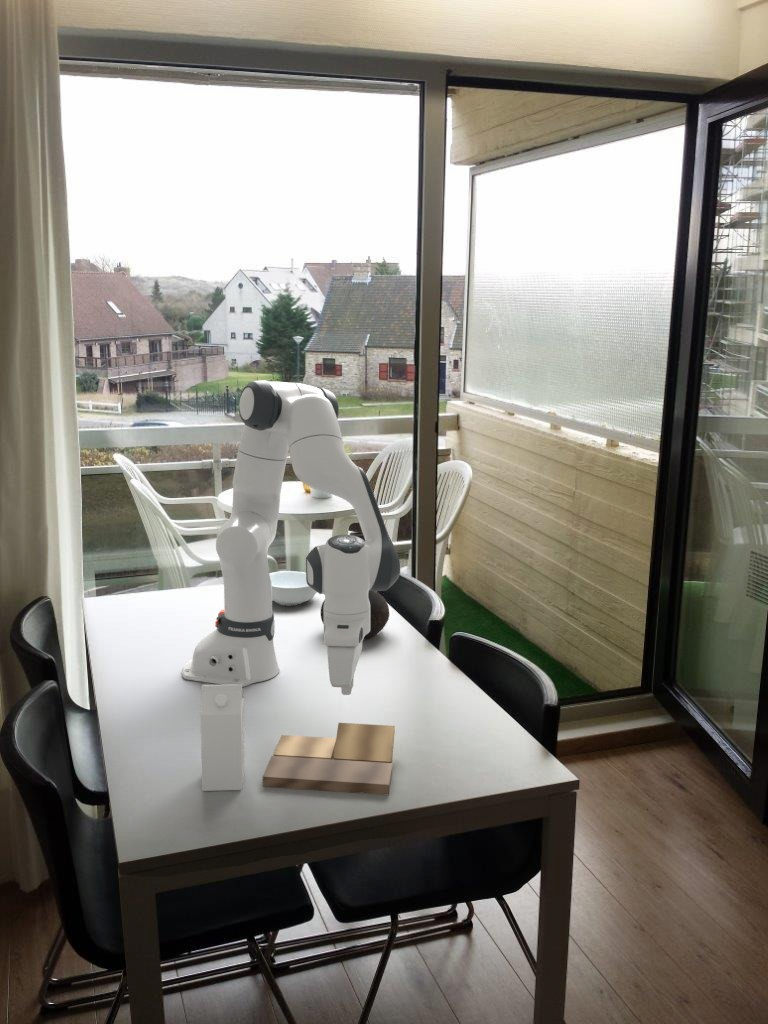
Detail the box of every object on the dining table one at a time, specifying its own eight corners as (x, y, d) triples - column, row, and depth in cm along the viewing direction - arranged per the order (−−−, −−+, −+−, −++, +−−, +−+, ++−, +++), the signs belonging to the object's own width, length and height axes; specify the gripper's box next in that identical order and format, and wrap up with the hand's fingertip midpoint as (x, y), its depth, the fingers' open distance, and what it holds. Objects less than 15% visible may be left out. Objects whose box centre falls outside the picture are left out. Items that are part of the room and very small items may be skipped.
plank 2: (334, 764, 178) (333, 758, 176) (339, 728, 184) (338, 722, 182) (391, 767, 177) (391, 761, 176) (394, 731, 183) (394, 725, 181)
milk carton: (206, 772, 174) (204, 677, 170) (244, 771, 175) (243, 676, 171) (202, 791, 167) (199, 693, 163) (242, 790, 168) (240, 692, 164)
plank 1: (273, 764, 178) (273, 754, 177) (281, 744, 185) (281, 734, 185) (330, 767, 177) (330, 758, 176) (336, 747, 185) (336, 738, 184)
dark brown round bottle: (306, 635, 245) (307, 532, 239) (352, 619, 259) (353, 521, 253) (357, 653, 234) (359, 545, 228) (402, 634, 248) (405, 532, 241)
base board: (262, 786, 169) (262, 776, 169) (271, 765, 177) (271, 755, 177) (388, 794, 168) (389, 784, 167) (392, 772, 175) (392, 763, 175)
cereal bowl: (294, 615, 261) (294, 591, 260) (249, 603, 270) (248, 580, 268) (330, 599, 275) (330, 576, 274) (286, 589, 284) (286, 567, 282)
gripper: (338, 604, 186) (338, 669, 189) (322, 640, 166) (323, 712, 169) (369, 605, 185) (369, 670, 188) (357, 641, 165) (357, 713, 168)
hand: (347, 690), depth 178 cm, fingers closed
